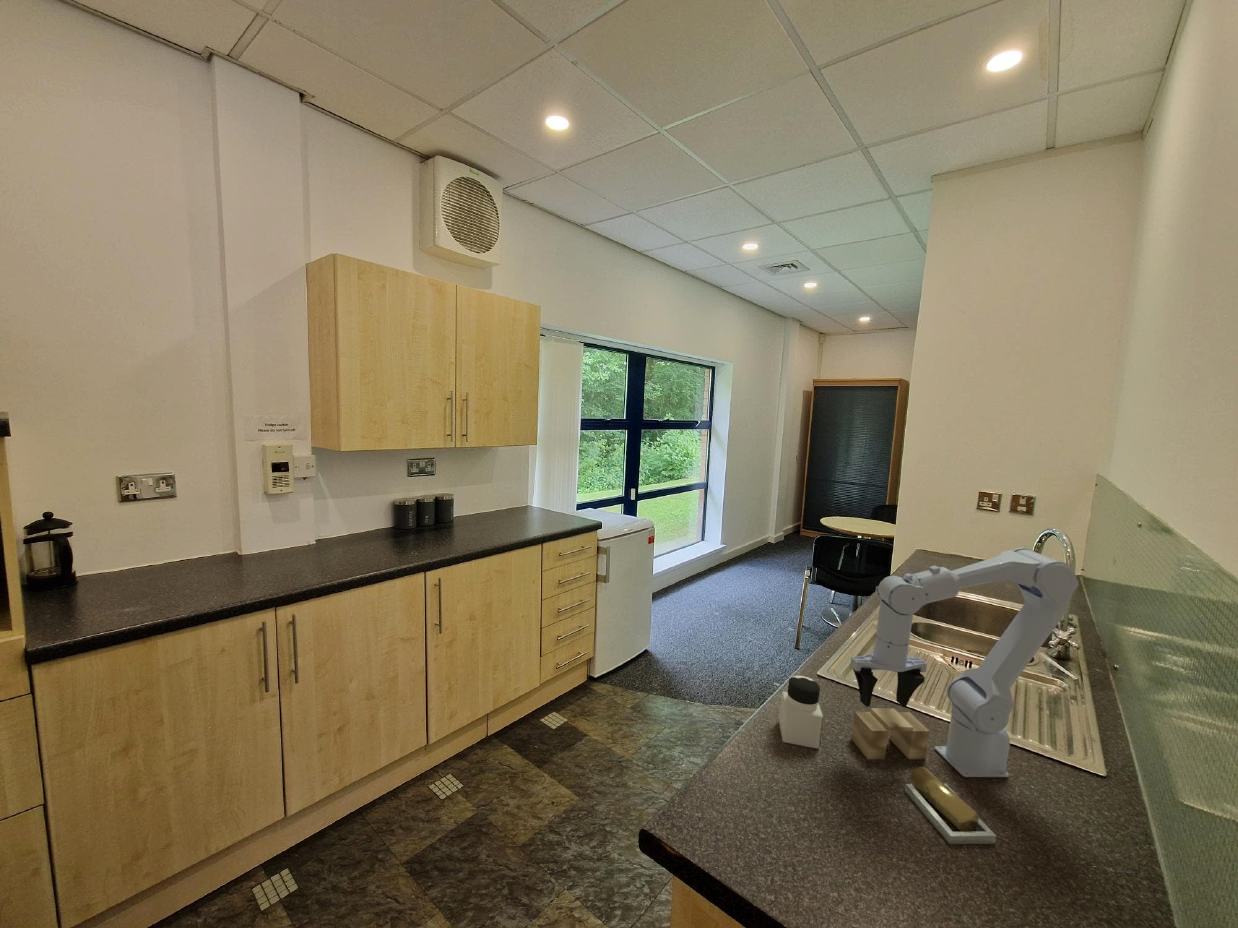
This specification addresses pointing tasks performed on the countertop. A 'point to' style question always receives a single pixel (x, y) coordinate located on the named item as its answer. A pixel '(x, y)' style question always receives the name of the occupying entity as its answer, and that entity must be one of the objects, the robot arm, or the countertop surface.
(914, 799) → the cradle
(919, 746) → the wooden stepped block
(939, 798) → the axle
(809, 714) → the medicine bottle
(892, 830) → the countertop surface
